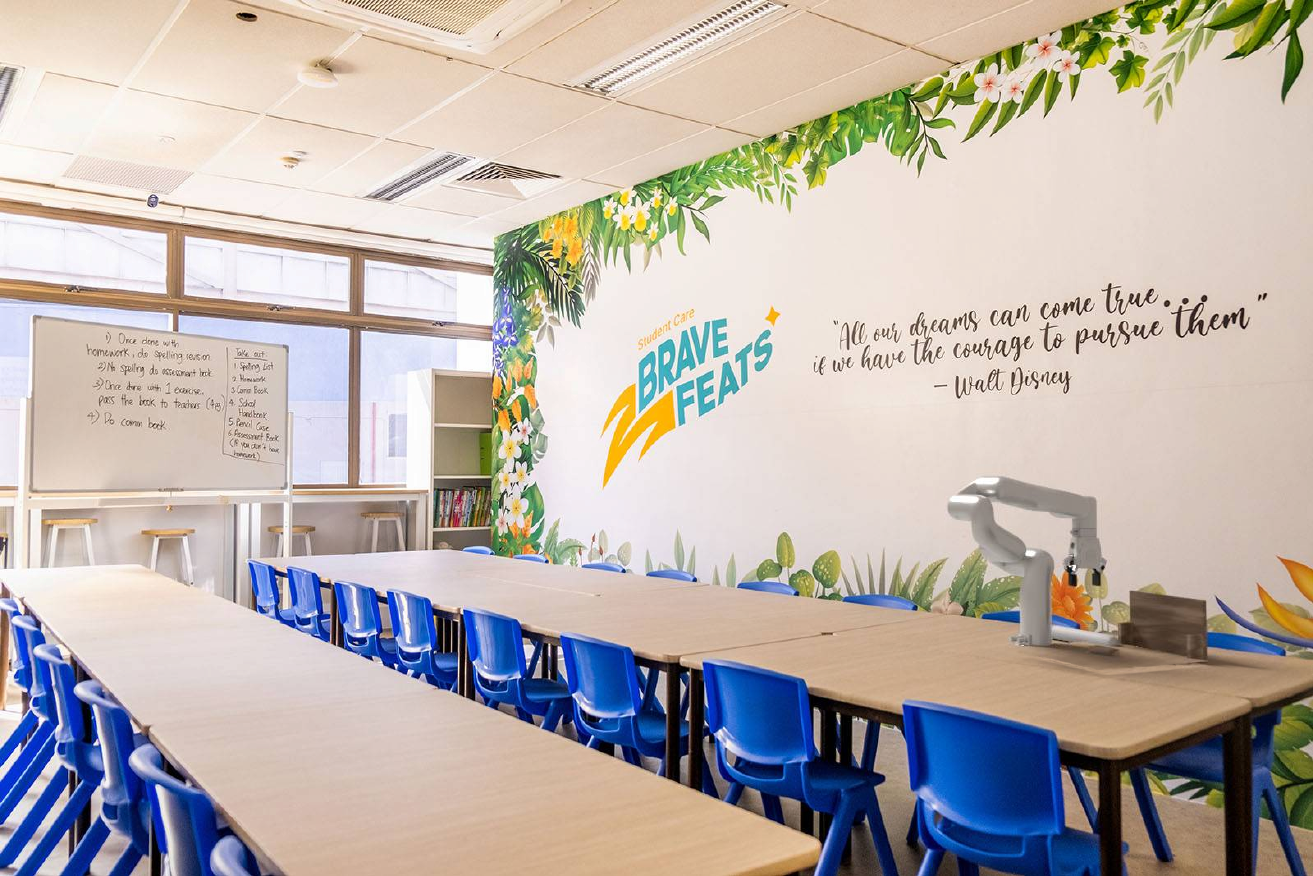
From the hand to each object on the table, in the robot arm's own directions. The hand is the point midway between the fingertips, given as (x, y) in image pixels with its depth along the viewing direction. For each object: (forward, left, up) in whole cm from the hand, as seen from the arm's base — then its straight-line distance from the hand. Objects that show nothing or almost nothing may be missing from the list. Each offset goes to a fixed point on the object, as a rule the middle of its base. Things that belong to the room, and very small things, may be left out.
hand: (1084, 586), depth 330 cm
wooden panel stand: (+8, -23, -19) cm, 31 cm away
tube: (0, 0, -20) cm, 20 cm away
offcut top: (-14, -23, -18) cm, 32 cm away
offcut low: (-14, -23, -20) cm, 34 cm away
